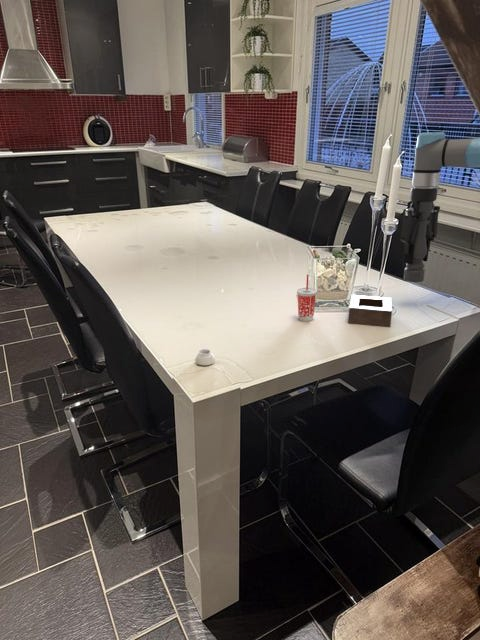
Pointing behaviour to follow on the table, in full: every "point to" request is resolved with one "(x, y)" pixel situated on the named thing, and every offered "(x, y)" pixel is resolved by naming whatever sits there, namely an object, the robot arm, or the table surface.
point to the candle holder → (419, 246)
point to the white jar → (205, 357)
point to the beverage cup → (306, 302)
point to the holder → (370, 310)
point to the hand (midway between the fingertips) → (415, 261)
